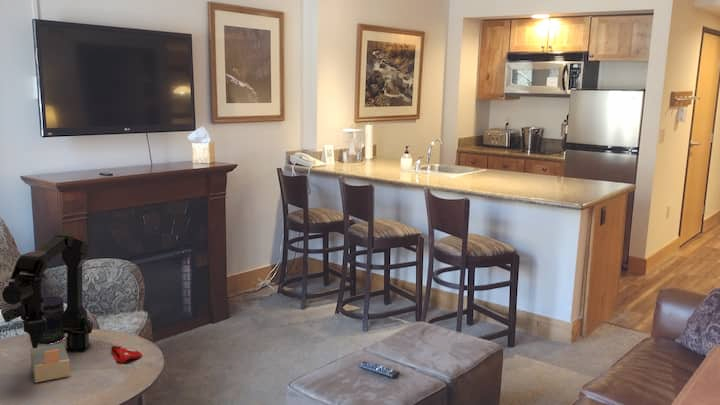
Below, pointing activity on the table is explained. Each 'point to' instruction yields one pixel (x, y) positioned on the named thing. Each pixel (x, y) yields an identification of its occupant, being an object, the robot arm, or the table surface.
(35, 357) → the sleeve
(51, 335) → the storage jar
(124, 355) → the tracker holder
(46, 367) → the beige open box
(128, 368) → the table surface
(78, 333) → the robot arm
